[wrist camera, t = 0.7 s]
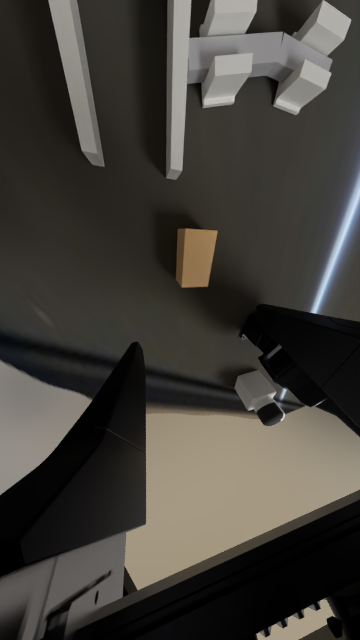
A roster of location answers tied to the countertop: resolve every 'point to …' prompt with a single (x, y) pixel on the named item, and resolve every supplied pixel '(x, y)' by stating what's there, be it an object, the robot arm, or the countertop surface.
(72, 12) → the end holder
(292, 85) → the clip
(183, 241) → the tan rectangular block
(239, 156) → the countertop surface
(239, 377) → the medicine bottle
